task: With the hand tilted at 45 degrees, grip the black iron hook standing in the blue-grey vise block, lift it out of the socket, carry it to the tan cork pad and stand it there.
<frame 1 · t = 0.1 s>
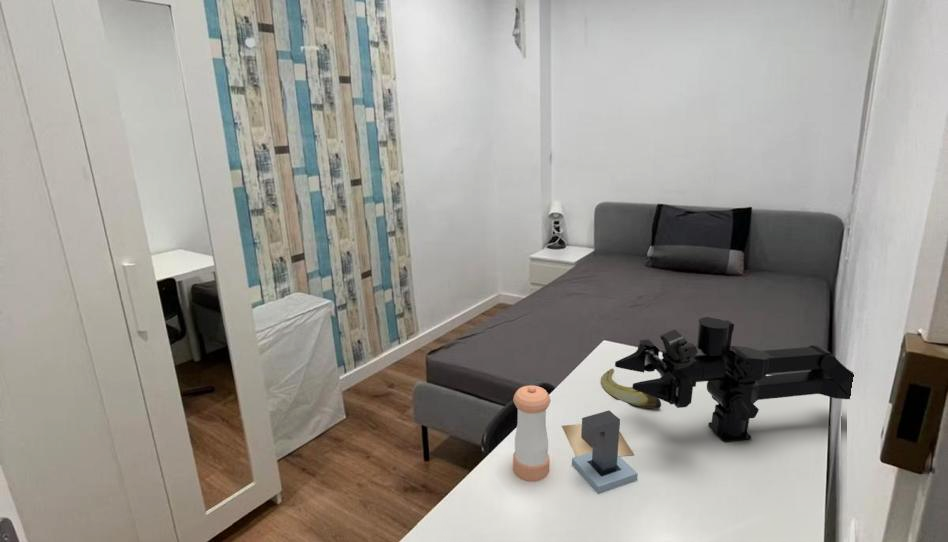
hand: (623, 374, 105), 17 cm above the table, tool horizontal, fingers open, 9 cm apart
cork pad: (596, 441, 111), on the table
salt shaker: (531, 471, 103), on the table
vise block: (603, 473, 101), on the table
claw: (628, 392, 130), on the table
hook: (603, 471, 101), resting on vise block
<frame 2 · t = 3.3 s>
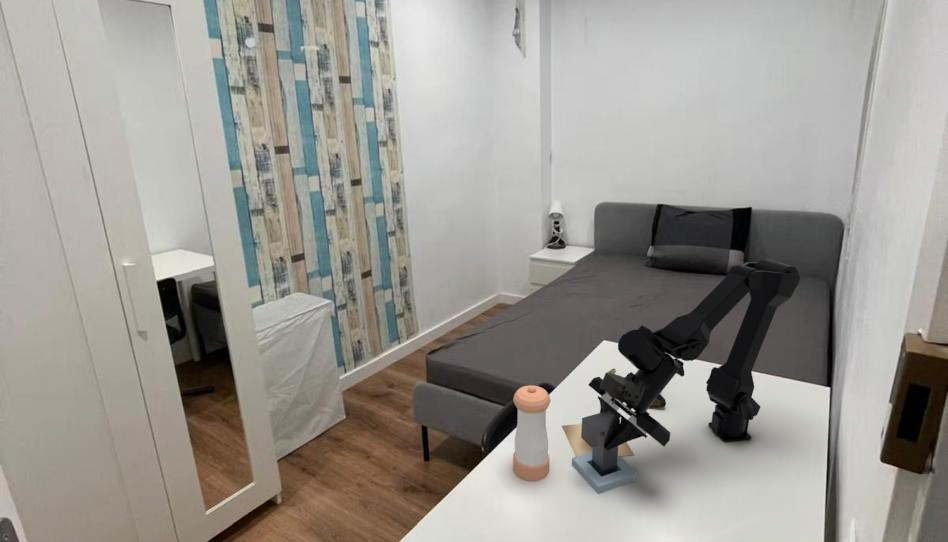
hand: (599, 443, 98), 8 cm above the table, tool tilted 45°, fingers closed on hook, 3 cm apart
hook: (603, 471, 101), resting on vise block, touching gripper
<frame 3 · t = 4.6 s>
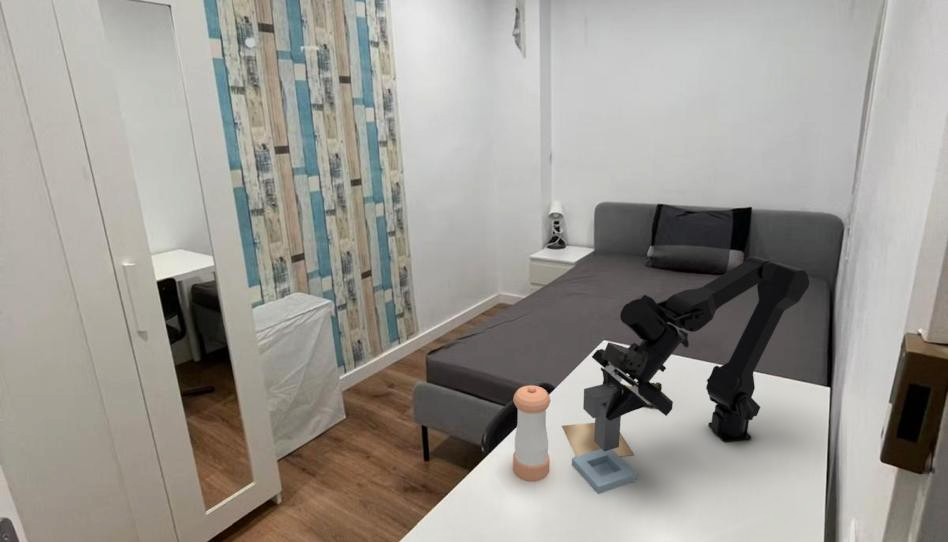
hand: (602, 414, 98), 13 cm above the table, tool tilted 45°, fingers closed on hook, 3 cm apart
hook: (606, 444, 100), point 6 cm above the table, touching gripper
when the fingers open (9 cm above the table, at t = 6.1 s): hook stays where it is, resting on cork pad.
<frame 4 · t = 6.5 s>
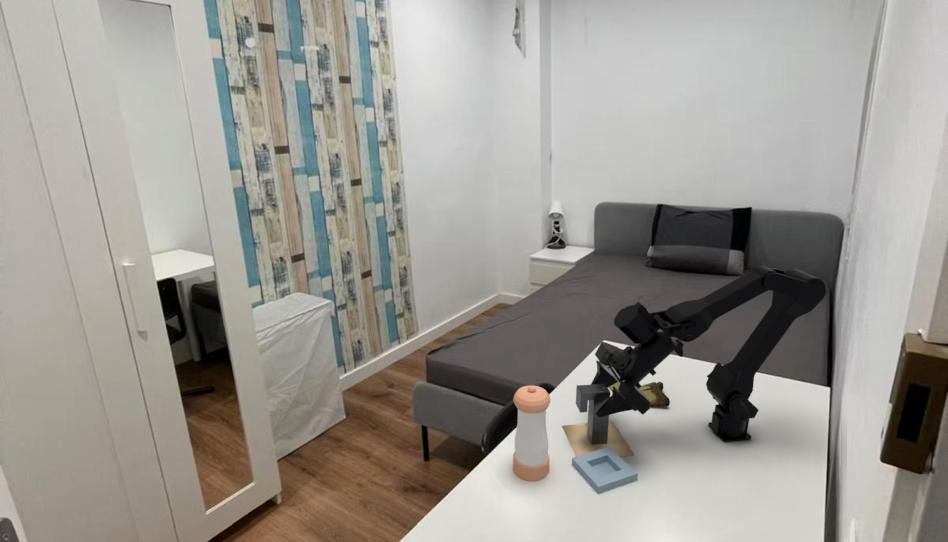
hand: (591, 405, 108), 9 cm above the table, tool tilted 45°, fingers open, 7 cm apart
hook: (596, 439, 111), point 1 cm above the table, touching cork pad
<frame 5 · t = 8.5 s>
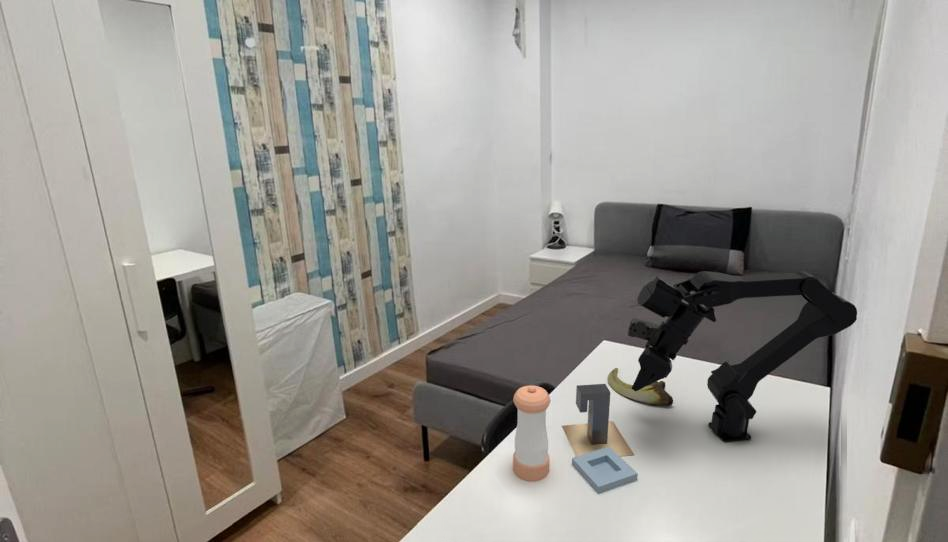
hand: (636, 383, 111), 12 cm above the table, tool tilted 30°, fingers open, 9 cm apart
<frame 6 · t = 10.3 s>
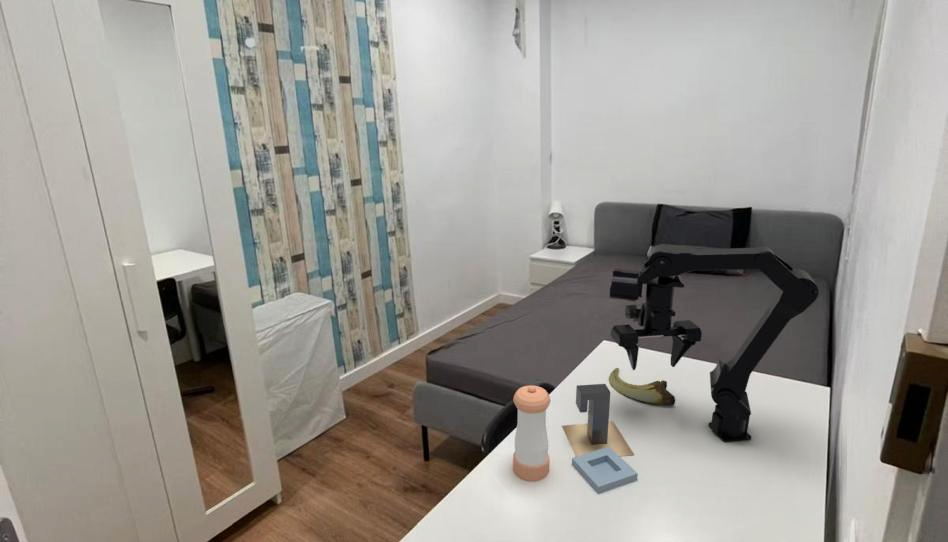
hand: (652, 367, 115), 13 cm above the table, tool pointing down, fingers open, 9 cm apart
at the end: hook inside the target area (0.1 cm from its centre), point 0.6 cm above the table; hook tilted 0°; the gripper is holding nothing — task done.
